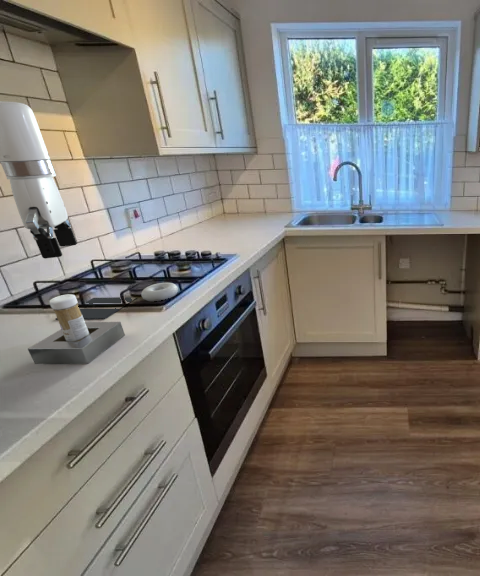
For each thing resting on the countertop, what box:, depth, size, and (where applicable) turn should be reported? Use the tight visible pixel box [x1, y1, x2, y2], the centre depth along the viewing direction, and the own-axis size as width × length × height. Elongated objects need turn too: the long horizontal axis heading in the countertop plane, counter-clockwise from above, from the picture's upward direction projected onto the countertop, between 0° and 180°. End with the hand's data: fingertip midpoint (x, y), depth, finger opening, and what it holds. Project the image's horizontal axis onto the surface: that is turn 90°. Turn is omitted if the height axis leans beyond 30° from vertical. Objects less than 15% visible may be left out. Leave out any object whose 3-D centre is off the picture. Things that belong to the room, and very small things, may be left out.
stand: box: [27, 321, 126, 365], centre depth 85 cm, size 12×12×4 cm
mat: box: [55, 296, 132, 321], centre depth 106 cm, size 14×14×1 cm
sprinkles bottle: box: [49, 293, 89, 341], centre depth 83 cm, size 5×5×13 cm
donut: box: [140, 282, 179, 303], centre depth 113 cm, size 10×4×10 cm
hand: (61, 251), depth 80 cm, fingers open, 9 cm apart
